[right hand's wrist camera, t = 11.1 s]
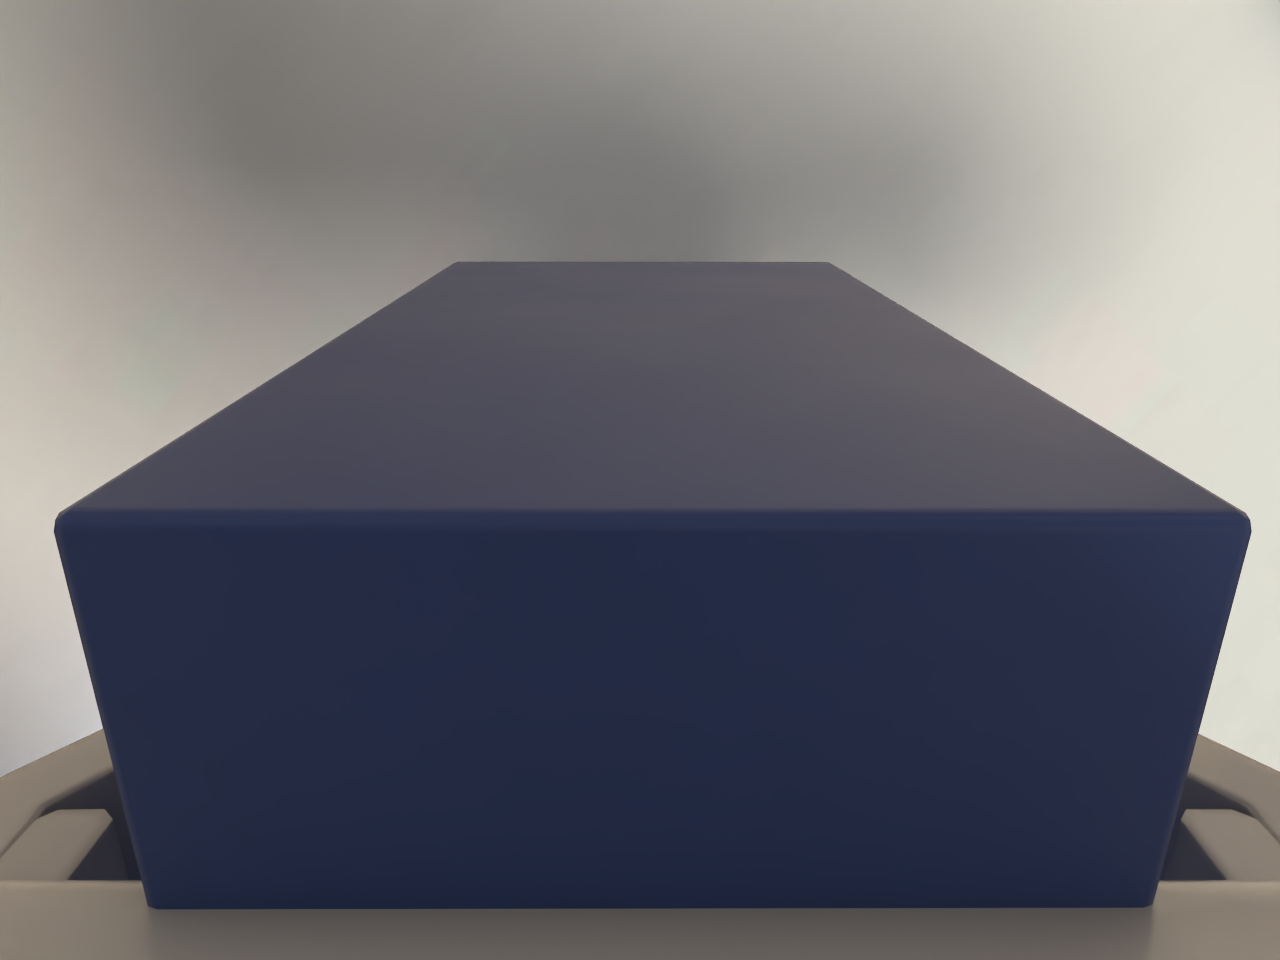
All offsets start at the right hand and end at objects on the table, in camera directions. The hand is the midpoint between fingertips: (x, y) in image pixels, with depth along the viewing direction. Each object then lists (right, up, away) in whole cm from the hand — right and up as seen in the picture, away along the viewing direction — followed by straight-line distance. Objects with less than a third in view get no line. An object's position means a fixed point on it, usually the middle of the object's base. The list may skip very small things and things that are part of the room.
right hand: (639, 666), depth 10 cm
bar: (0, -5, +7) cm, 9 cm away
